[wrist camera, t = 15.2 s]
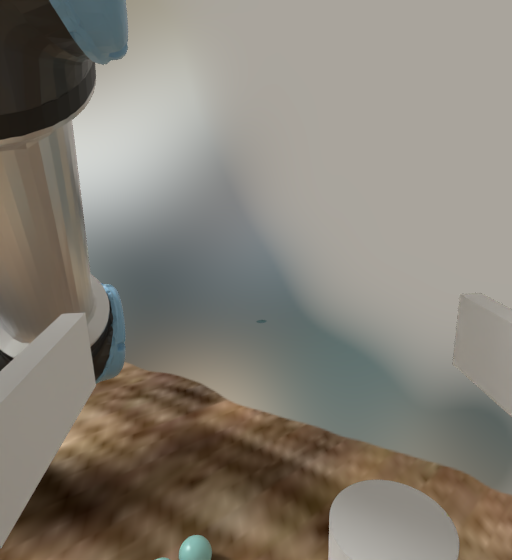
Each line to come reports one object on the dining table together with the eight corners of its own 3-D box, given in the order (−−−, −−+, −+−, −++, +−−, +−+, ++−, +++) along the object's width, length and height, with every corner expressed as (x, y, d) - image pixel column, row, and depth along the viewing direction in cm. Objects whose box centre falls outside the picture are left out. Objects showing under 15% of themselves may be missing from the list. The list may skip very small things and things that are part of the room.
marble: (174, 563, 40) (172, 537, 39) (203, 546, 41) (201, 522, 40) (188, 588, 37) (186, 562, 36) (218, 570, 39) (216, 544, 38)
